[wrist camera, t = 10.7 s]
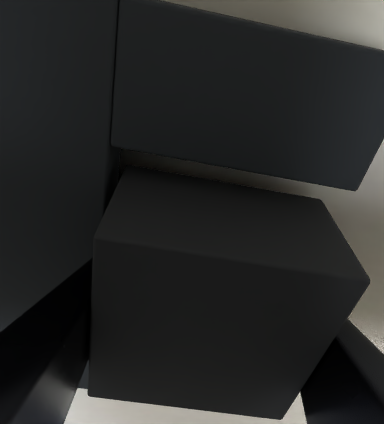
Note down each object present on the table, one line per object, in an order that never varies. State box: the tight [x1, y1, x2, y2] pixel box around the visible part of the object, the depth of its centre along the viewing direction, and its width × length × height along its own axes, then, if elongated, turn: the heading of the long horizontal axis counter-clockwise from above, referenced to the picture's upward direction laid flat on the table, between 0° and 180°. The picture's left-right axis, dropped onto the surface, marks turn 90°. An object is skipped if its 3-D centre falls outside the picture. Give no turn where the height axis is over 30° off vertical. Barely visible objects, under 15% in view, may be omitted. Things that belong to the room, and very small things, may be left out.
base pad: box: [0, 0, 384, 389], centre depth 9 cm, size 12×16×2 cm
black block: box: [88, 165, 370, 420], centre depth 8 cm, size 5×5×3 cm
